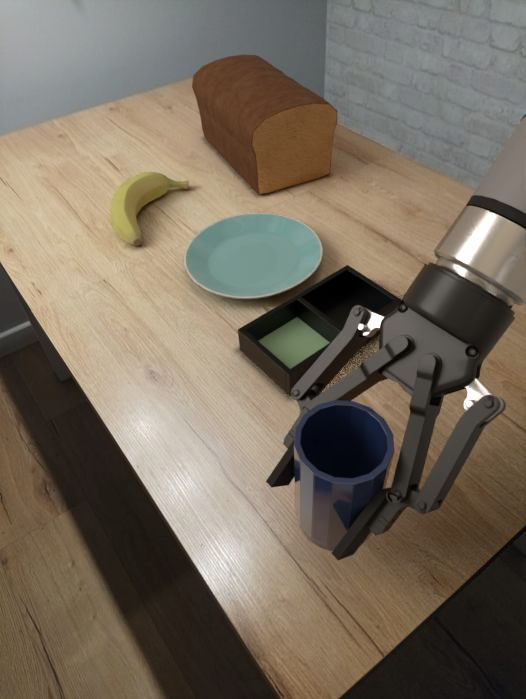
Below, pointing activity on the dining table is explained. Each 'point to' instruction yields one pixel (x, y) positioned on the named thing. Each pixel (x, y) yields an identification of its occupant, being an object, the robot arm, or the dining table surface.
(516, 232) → the robot arm
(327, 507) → the cup
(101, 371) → the dining table surface
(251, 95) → the bread
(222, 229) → the plate
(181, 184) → the banana
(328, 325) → the tray
